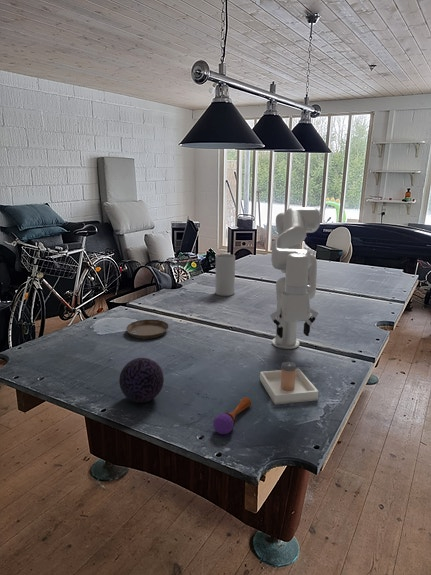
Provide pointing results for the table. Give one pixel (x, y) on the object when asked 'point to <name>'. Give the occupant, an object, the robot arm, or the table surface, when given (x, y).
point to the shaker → (288, 376)
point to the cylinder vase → (225, 274)
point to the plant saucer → (147, 328)
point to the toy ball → (141, 380)
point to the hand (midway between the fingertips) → (293, 335)
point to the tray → (299, 394)
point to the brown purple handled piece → (229, 417)
